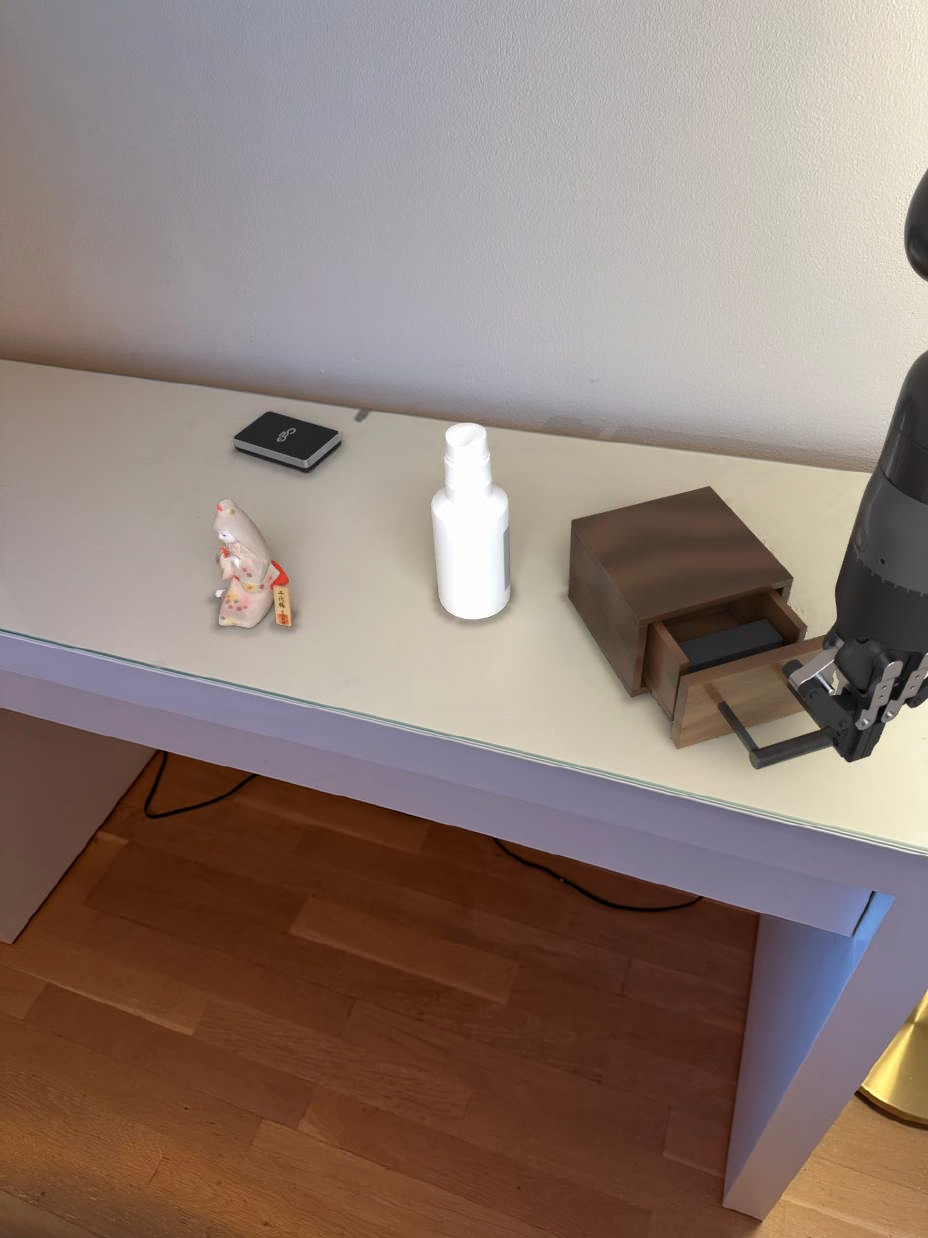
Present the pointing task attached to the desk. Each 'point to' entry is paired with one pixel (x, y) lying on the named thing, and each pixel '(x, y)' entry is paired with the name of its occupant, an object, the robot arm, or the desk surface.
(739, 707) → the drawer
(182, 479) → the desk surface
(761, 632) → the remote
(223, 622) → the figurine
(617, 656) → the cabinet
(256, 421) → the external hard drive
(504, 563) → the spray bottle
